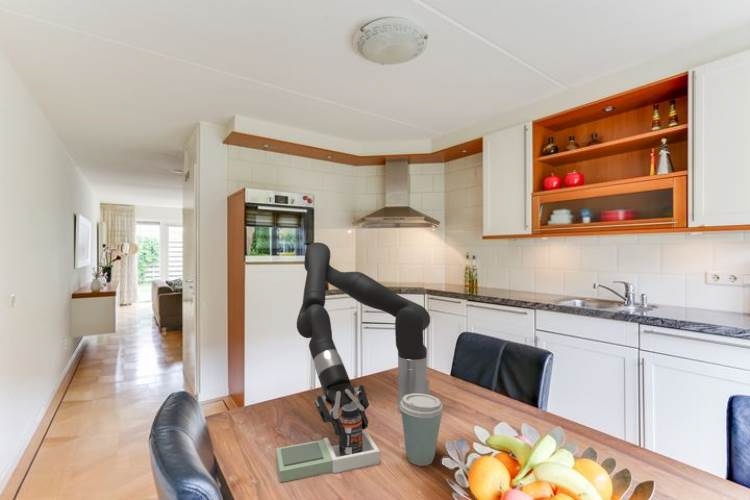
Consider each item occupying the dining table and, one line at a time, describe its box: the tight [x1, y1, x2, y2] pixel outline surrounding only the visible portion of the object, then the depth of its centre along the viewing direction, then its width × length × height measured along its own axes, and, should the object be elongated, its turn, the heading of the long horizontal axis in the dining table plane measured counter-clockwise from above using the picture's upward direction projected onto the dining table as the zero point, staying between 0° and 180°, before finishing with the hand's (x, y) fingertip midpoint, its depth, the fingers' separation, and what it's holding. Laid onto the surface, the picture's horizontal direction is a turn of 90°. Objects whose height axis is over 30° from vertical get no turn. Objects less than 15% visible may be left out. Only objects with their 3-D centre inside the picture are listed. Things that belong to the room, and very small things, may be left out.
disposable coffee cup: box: [399, 393, 444, 467], centre depth 90 cm, size 11×11×15 cm
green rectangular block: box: [275, 439, 333, 484], centre depth 88 cm, size 12×10×3 cm
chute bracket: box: [323, 430, 381, 474], centre depth 91 cm, size 12×10×3 cm
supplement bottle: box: [338, 404, 363, 456], centre depth 92 cm, size 6×6×11 cm
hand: (353, 431), depth 90 cm, fingers open, 6 cm apart
